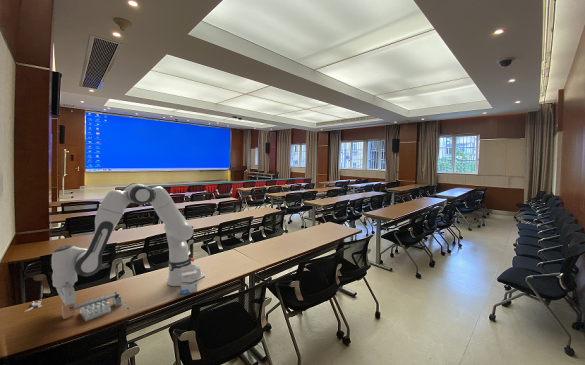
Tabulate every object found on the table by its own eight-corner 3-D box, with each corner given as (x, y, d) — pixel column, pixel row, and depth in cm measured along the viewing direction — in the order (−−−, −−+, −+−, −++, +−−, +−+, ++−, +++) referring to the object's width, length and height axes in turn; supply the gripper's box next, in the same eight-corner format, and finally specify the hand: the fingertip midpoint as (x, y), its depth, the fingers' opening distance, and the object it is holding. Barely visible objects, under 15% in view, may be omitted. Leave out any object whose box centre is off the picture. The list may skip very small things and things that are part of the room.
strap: (116, 294, 131) (116, 291, 131) (119, 296, 129) (119, 294, 129) (68, 309, 116) (68, 306, 116) (70, 311, 114) (70, 309, 114)
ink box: (182, 295, 142) (181, 270, 141) (180, 291, 146) (180, 267, 145) (197, 291, 147) (197, 267, 146) (195, 287, 151) (195, 264, 150)
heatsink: (116, 300, 134) (116, 291, 134) (123, 307, 128) (122, 298, 128) (80, 313, 122) (79, 303, 122) (85, 321, 116) (85, 311, 116)
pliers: (17, 317, 118) (23, 303, 130) (18, 320, 118) (23, 306, 130) (47, 309, 125) (49, 297, 136) (47, 312, 125) (49, 300, 136)
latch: (73, 312, 122) (72, 298, 122) (76, 317, 119) (75, 302, 118) (62, 316, 119) (61, 301, 119) (65, 321, 116) (64, 306, 115)
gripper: (78, 283, 117) (80, 312, 118) (69, 271, 130) (70, 297, 131) (60, 288, 112) (62, 318, 113) (52, 275, 125) (54, 302, 126)
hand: (66, 306), depth 122 cm, fingers closed
